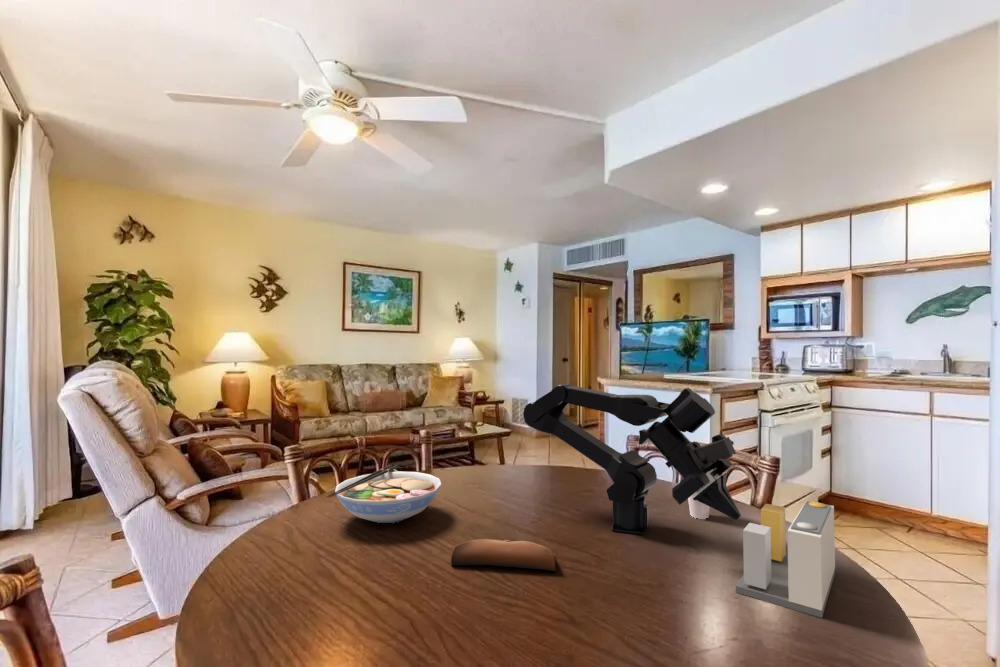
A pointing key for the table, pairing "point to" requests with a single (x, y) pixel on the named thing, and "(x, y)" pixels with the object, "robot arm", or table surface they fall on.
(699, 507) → the smoothie
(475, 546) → the sunglasses case
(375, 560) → the table surface
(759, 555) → the light grey block
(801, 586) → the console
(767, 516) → the amber block
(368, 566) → the table surface
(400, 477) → the ramen bowl
